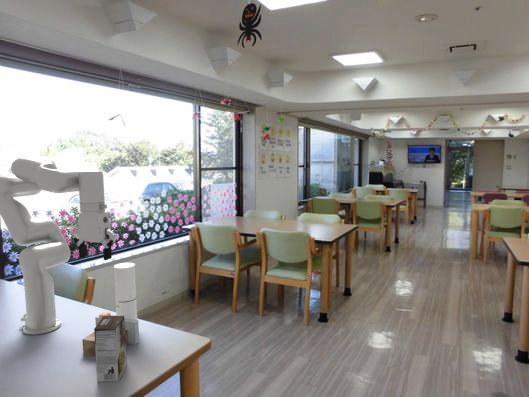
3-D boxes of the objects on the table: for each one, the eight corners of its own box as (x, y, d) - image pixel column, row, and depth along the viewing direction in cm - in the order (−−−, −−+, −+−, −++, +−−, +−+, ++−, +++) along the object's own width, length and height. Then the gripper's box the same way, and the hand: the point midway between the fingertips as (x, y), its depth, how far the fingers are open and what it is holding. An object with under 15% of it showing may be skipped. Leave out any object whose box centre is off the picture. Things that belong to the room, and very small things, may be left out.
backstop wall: (96, 338, 140) (95, 317, 139) (100, 336, 142) (99, 314, 141) (135, 344, 135) (134, 322, 134) (139, 342, 137) (138, 320, 136)
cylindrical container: (131, 336, 141) (128, 268, 139) (113, 335, 143) (109, 267, 140) (141, 328, 148) (138, 263, 145) (124, 326, 150) (120, 262, 147)
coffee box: (106, 365, 122) (103, 315, 121) (127, 364, 123) (125, 314, 121) (96, 382, 113) (93, 328, 112) (119, 381, 114) (116, 327, 112)
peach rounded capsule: (98, 350, 132) (96, 315, 130) (105, 345, 135) (103, 311, 134) (107, 352, 131) (105, 317, 129) (114, 347, 134) (112, 312, 133)
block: (83, 353, 130) (82, 339, 129) (103, 340, 139) (103, 326, 139) (109, 358, 127) (108, 343, 126) (128, 343, 136) (127, 329, 136)
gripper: (122, 206, 132) (124, 257, 134) (79, 205, 137) (82, 253, 138) (107, 210, 124) (110, 263, 126) (62, 208, 129) (65, 259, 131)
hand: (95, 258), depth 132 cm, fingers open, 9 cm apart
